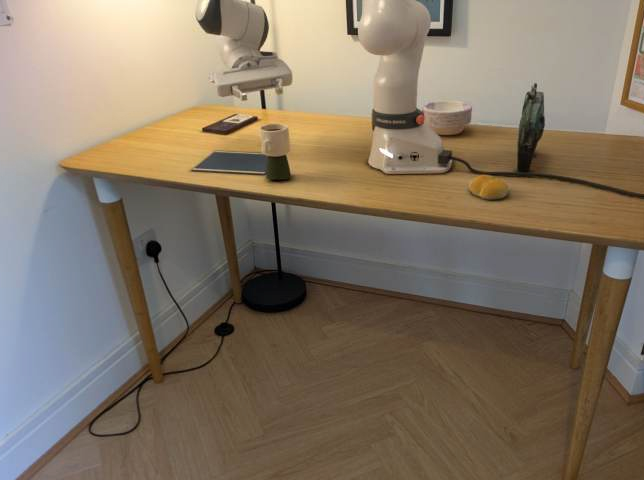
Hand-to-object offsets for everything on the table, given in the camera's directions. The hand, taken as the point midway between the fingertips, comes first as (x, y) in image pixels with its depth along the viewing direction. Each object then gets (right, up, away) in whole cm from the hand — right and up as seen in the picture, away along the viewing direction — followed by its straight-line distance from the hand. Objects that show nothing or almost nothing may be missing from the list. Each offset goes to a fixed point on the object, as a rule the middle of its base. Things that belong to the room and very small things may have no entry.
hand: (262, 95), depth 142 cm
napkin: (-9, -15, +11) cm, 20 cm away
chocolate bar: (-18, +4, +42) cm, 46 cm away
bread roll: (+55, -27, -9) cm, 62 cm away
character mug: (+4, -21, +1) cm, 21 cm away
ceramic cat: (+69, -15, +9) cm, 71 cm away
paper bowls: (+51, 0, +33) cm, 61 cm away
